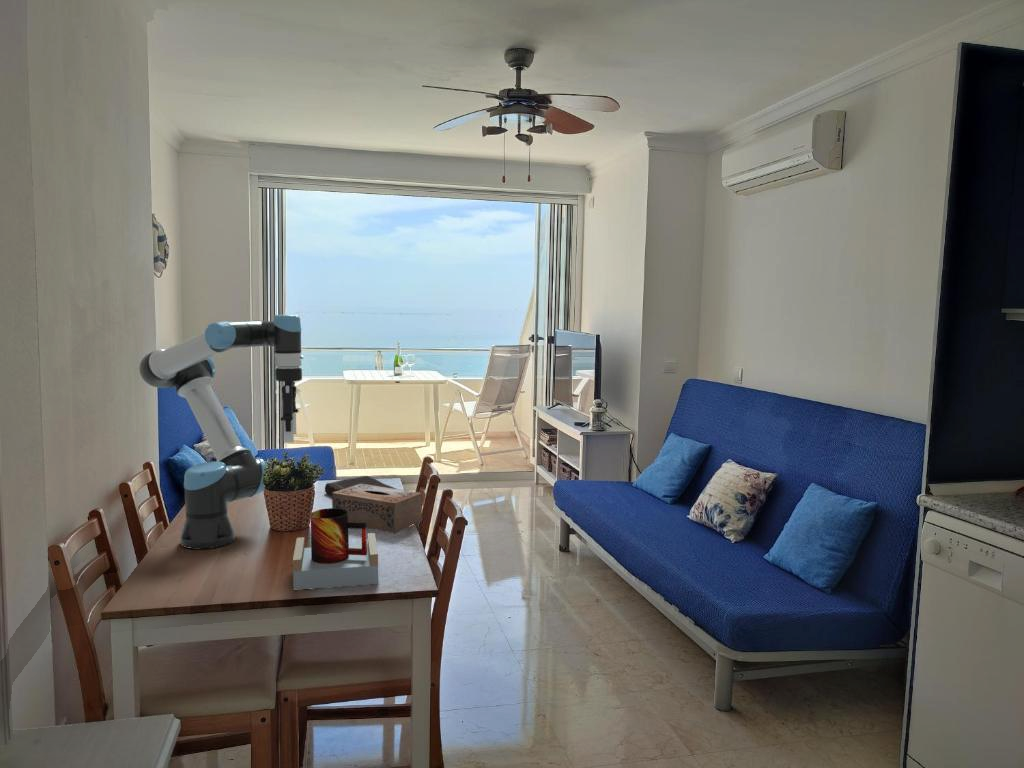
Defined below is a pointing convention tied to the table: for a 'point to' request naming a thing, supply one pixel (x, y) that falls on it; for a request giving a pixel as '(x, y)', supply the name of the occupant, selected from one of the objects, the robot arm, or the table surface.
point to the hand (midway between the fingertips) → (290, 438)
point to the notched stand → (335, 568)
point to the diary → (352, 484)
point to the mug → (333, 536)
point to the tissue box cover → (380, 506)
